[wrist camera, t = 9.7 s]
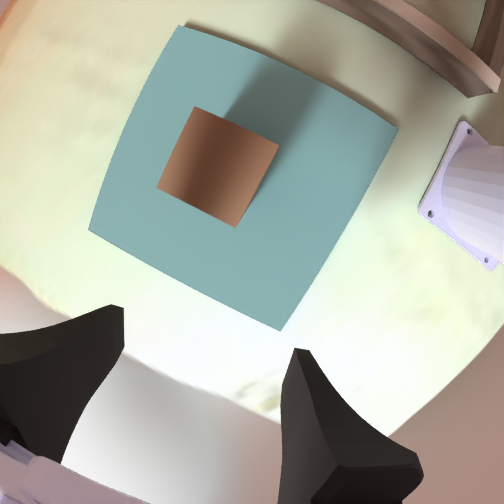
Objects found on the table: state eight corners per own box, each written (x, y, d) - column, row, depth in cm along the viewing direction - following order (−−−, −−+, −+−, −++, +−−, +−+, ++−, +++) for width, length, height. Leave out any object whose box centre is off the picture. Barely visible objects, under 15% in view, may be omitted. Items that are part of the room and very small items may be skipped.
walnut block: (278, 150, 18) (279, 145, 12) (248, 207, 19) (235, 228, 13) (220, 121, 18) (194, 106, 12) (192, 178, 19) (156, 187, 13)
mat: (395, 129, 17) (398, 129, 17) (280, 327, 22) (280, 331, 21) (180, 27, 16) (178, 25, 16) (91, 228, 21) (88, 229, 20)
